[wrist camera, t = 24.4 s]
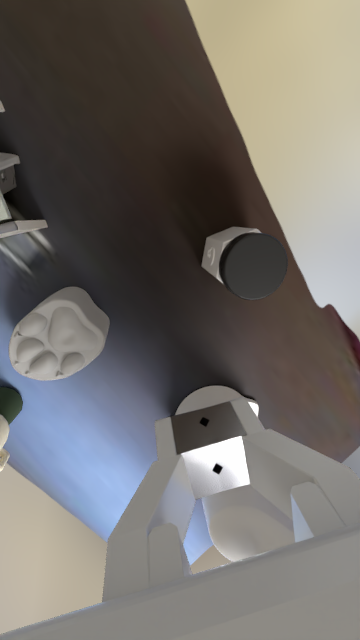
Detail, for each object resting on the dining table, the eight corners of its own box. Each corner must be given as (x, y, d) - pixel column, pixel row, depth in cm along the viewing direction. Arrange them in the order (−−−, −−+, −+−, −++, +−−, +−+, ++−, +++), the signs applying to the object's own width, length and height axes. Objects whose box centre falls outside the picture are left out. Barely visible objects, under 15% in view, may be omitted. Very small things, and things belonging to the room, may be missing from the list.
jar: (207, 222, 43) (232, 223, 32) (257, 230, 45) (297, 235, 33) (197, 279, 46) (216, 299, 35) (244, 286, 47) (277, 307, 36)
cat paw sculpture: (117, 327, 47) (113, 350, 39) (56, 371, 48) (40, 402, 40) (74, 277, 43) (59, 291, 35) (9, 326, 44) (-20, 350, 36)
